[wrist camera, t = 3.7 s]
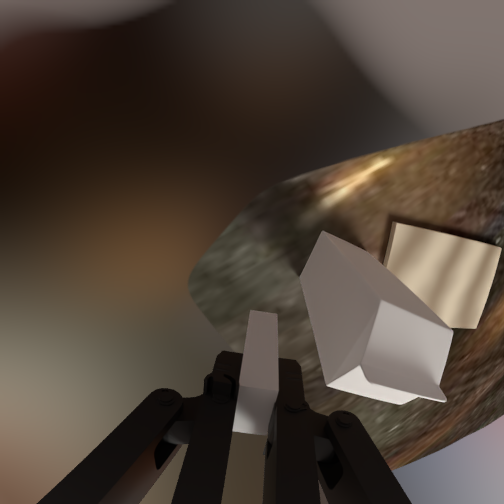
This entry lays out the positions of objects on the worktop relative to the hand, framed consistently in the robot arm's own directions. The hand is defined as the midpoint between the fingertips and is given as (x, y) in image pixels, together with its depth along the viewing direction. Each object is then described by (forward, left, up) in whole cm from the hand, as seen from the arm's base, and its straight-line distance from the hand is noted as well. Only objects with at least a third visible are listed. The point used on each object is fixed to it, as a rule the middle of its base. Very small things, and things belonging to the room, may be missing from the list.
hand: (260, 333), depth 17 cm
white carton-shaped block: (-8, 0, -17) cm, 19 cm away
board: (-23, 0, -17) cm, 28 cm away
